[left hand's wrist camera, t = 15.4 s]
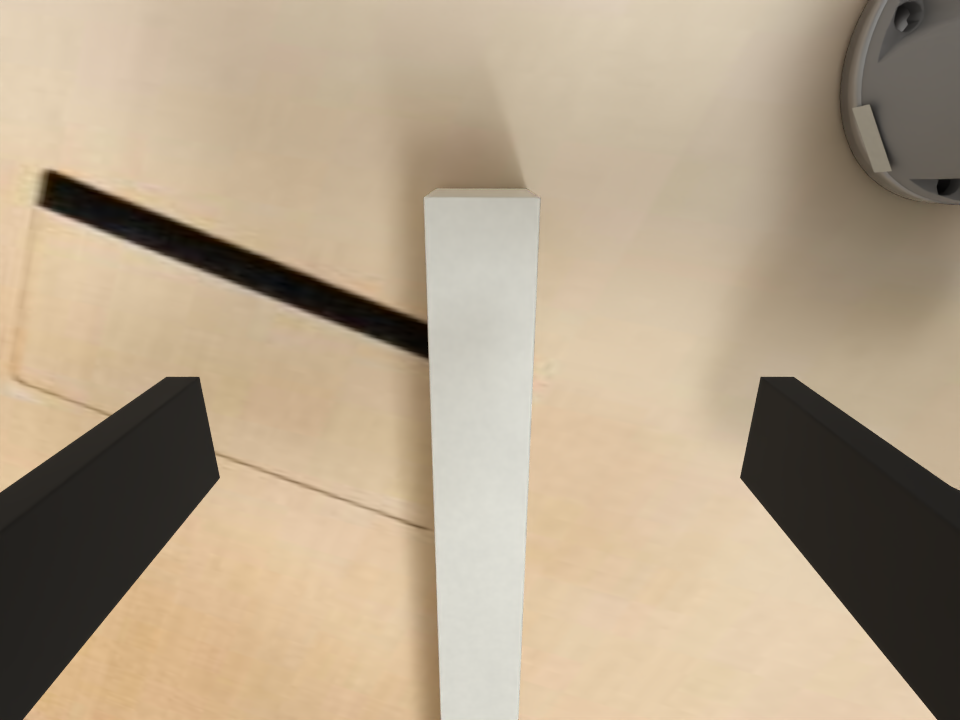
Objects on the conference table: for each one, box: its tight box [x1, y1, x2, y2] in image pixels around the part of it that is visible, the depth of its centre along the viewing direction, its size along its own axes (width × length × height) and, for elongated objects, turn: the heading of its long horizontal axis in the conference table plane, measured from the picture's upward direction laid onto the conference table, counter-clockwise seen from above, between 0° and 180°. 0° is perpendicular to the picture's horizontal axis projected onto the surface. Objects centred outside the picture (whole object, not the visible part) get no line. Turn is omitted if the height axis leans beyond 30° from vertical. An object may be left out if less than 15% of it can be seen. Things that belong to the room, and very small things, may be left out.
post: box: [424, 188, 541, 720], centre depth 43 cm, size 80×6×8 cm, turn 0°
